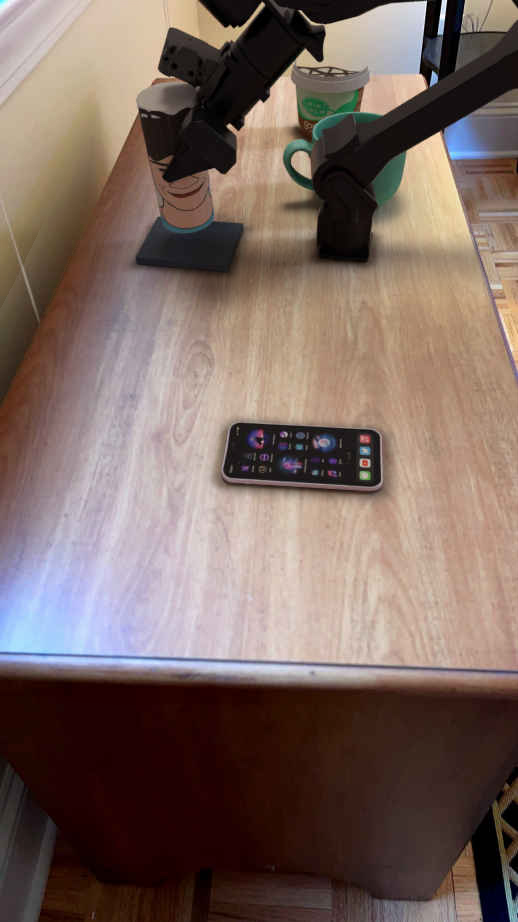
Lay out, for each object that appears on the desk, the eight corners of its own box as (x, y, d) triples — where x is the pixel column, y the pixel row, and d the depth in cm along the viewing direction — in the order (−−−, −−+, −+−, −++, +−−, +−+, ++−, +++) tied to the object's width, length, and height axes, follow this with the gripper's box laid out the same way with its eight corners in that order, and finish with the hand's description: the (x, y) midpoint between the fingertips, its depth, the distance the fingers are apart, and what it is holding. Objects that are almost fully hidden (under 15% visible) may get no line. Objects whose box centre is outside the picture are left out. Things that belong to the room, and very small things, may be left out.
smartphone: (383, 488, 63) (220, 478, 64) (382, 492, 63) (220, 482, 64) (381, 429, 68) (230, 420, 69) (380, 433, 68) (230, 424, 69)
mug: (392, 175, 102) (400, 109, 95) (406, 220, 94) (417, 151, 87) (280, 180, 102) (280, 113, 95) (285, 225, 94) (285, 156, 86)
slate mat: (243, 230, 93) (243, 223, 92) (227, 272, 87) (227, 265, 86) (158, 222, 95) (157, 216, 94) (136, 263, 88) (135, 257, 88)
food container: (281, 141, 110) (281, 74, 102) (291, 125, 114) (292, 58, 106) (357, 150, 107) (363, 81, 100) (365, 133, 111) (371, 65, 104)
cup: (154, 231, 86) (127, 109, 74) (170, 201, 90) (147, 81, 78) (206, 235, 85) (187, 111, 73) (220, 204, 89) (203, 82, 77)
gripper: (203, -28, 75) (121, 84, 84) (191, 33, 63) (97, 156, 72) (277, 49, 81) (193, 147, 89) (279, 118, 69) (182, 223, 77)
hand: (167, 165), depth 82 cm, fingers closed on cup, 7 cm apart
